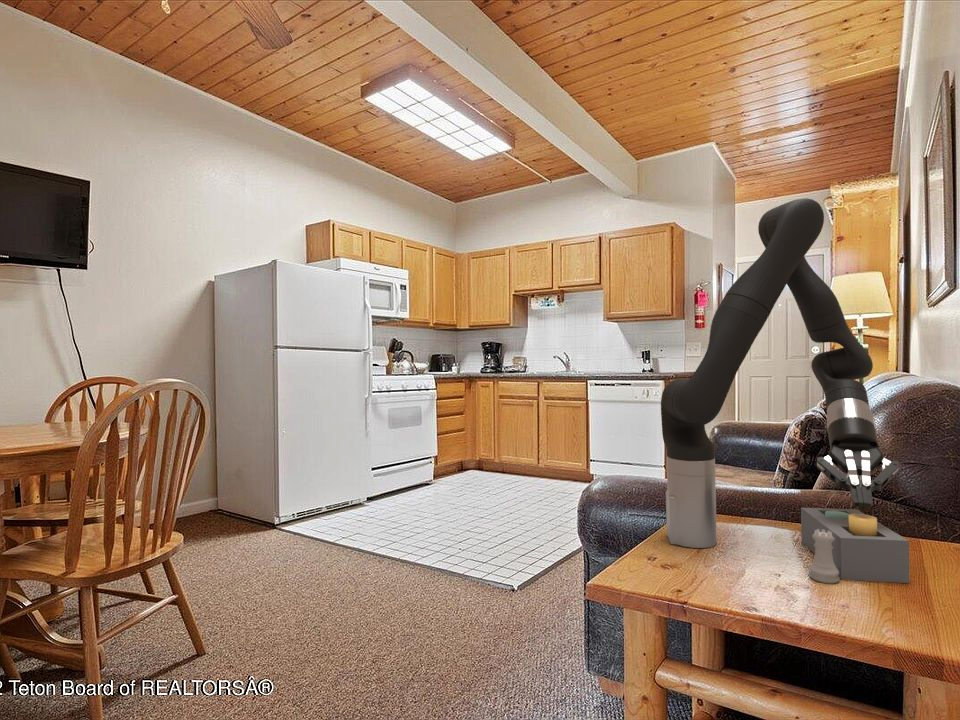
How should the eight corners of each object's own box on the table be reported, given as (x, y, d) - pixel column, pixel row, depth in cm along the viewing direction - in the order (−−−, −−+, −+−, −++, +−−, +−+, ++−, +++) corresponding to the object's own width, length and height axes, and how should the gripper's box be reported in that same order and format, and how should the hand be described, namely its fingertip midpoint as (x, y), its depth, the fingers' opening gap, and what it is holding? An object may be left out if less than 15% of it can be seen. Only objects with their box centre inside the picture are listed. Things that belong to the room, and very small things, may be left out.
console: (841, 579, 91) (840, 538, 91) (801, 542, 108) (800, 507, 108) (909, 583, 89) (908, 540, 89) (857, 544, 106) (856, 509, 106)
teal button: (830, 534, 102) (830, 516, 102) (821, 528, 106) (821, 510, 106) (854, 535, 101) (854, 517, 101) (844, 529, 105) (844, 511, 105)
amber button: (855, 540, 92) (855, 520, 92) (844, 532, 96) (844, 513, 96) (882, 541, 91) (881, 521, 91) (870, 533, 95) (869, 514, 95)
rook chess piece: (846, 584, 89) (845, 535, 89) (819, 584, 89) (818, 536, 89) (828, 573, 94) (827, 527, 94) (802, 573, 94) (802, 527, 93)
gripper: (811, 414, 105) (819, 493, 94) (896, 416, 99) (915, 500, 88) (809, 437, 109) (817, 515, 99) (890, 440, 103) (907, 523, 93)
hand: (863, 508), depth 93 cm, fingers closed
